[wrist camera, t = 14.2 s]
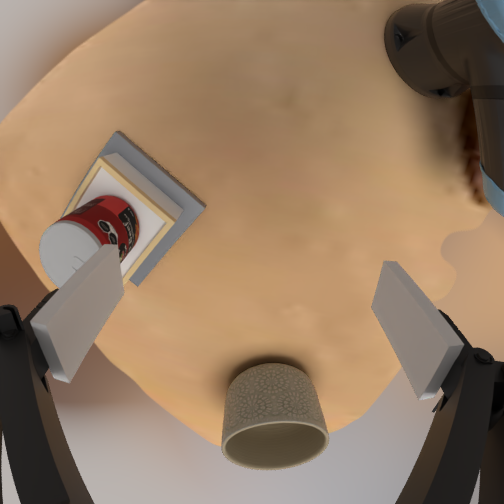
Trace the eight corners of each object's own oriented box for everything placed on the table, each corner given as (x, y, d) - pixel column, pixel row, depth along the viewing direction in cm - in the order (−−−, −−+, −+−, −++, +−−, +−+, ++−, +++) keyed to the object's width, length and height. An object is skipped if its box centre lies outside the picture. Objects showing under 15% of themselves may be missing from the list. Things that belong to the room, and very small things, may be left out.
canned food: (133, 261, 37) (100, 309, 27) (81, 240, 35) (36, 279, 25) (149, 206, 34) (113, 240, 24) (91, 185, 33) (41, 211, 23)
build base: (119, 131, 36) (97, 133, 29) (206, 205, 40) (199, 221, 34) (64, 216, 40) (40, 232, 34) (140, 281, 45) (126, 306, 38)
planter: (301, 338, 50) (318, 408, 36) (321, 394, 56) (336, 456, 42) (209, 364, 52) (202, 434, 38) (244, 415, 58) (245, 476, 44)
